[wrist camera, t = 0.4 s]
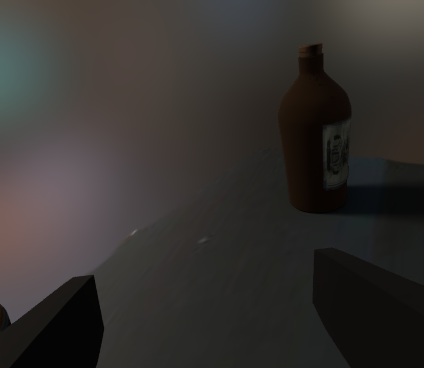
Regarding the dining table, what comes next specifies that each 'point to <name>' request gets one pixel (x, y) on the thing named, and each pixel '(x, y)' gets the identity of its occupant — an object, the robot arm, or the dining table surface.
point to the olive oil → (315, 136)
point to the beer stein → (4, 319)
